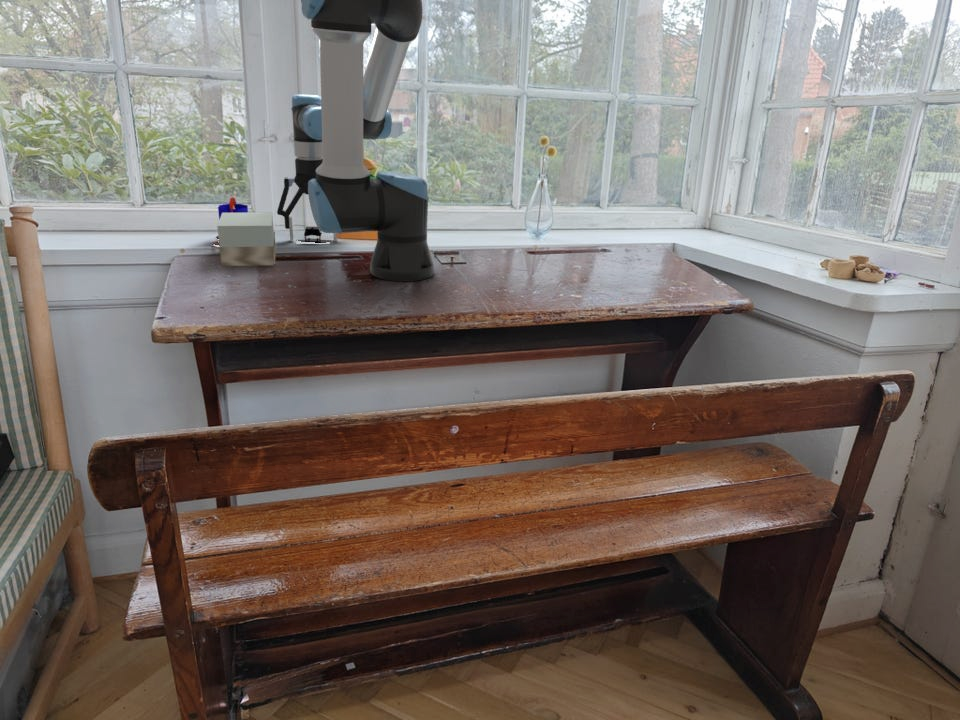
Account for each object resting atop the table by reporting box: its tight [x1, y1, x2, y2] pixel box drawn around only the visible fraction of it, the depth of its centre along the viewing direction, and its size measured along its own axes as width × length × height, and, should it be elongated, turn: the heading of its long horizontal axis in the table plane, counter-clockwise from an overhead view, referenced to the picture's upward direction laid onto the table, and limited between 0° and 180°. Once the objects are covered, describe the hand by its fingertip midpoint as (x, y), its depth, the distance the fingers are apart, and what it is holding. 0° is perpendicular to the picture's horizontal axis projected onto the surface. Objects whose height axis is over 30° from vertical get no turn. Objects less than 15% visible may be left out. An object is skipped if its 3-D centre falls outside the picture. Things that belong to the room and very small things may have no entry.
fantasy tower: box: [213, 196, 249, 245], centre depth 175 cm, size 12×12×12 cm
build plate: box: [297, 226, 332, 243], centre depth 180 cm, size 12×7×5 cm, turn 99°
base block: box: [219, 231, 277, 267], centre depth 163 cm, size 12×15×5 cm
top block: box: [216, 212, 275, 248], centre depth 161 cm, size 12×15×5 cm
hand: (313, 240), depth 182 cm, fingers open, 11 cm apart
